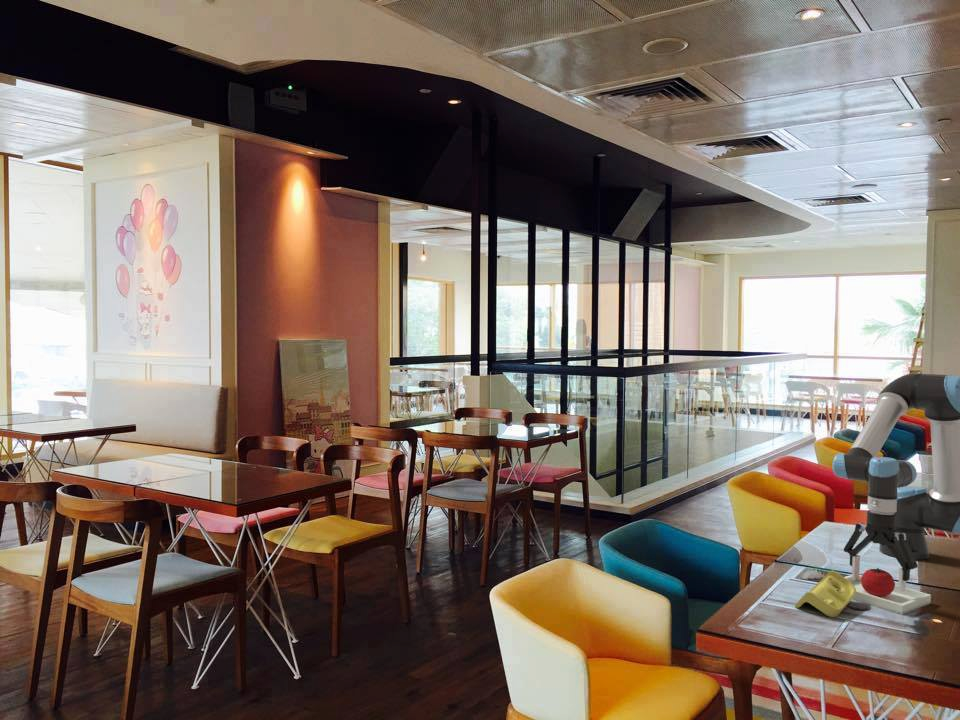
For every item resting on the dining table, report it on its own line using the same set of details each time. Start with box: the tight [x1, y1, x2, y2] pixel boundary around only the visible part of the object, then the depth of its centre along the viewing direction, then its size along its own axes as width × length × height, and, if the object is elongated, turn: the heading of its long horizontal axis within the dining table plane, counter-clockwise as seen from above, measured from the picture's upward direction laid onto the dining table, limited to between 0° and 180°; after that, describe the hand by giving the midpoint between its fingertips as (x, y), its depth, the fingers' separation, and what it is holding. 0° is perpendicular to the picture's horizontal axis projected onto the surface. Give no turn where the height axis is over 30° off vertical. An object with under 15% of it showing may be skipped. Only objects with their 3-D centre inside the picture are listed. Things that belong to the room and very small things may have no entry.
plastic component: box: [794, 570, 856, 618], centre depth 221 cm, size 20×7×10 cm
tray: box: [844, 574, 932, 615], centre depth 228 cm, size 16×22×2 cm
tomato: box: [861, 567, 896, 597], centre depth 228 cm, size 9×9×8 cm
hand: (878, 584), depth 228 cm, fingers open, 13 cm apart
